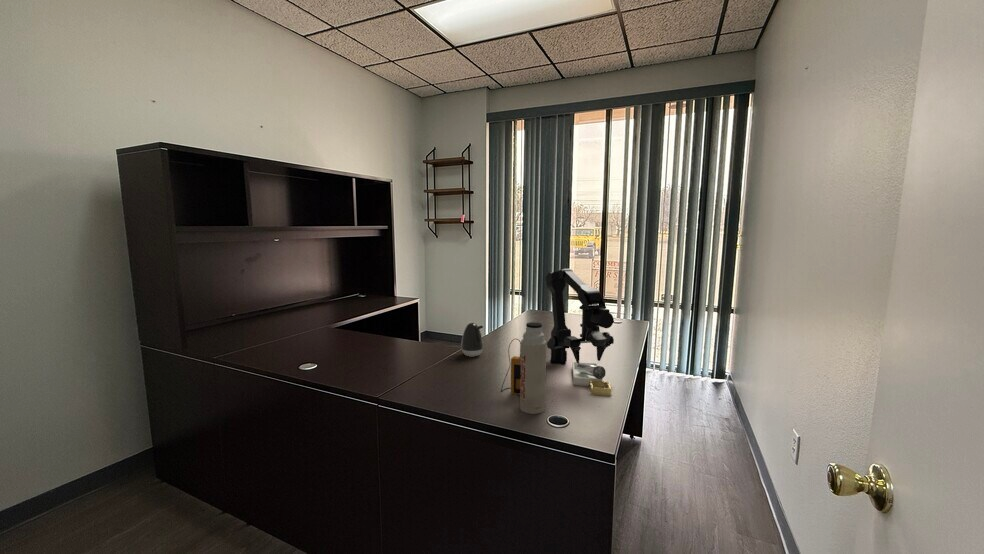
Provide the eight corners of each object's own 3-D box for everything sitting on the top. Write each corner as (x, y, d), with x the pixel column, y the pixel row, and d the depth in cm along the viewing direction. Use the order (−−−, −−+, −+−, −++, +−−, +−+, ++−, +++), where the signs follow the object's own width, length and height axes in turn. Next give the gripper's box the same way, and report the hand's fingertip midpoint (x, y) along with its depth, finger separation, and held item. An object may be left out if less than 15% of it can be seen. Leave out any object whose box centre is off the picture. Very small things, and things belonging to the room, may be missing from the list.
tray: (573, 385, 146) (574, 377, 145) (572, 368, 163) (572, 361, 163) (602, 387, 144) (602, 379, 143) (597, 370, 162) (597, 363, 161)
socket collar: (591, 394, 137) (591, 387, 137) (589, 386, 144) (589, 380, 144) (611, 395, 136) (611, 389, 136) (608, 388, 143) (609, 381, 143)
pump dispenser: (478, 359, 174) (478, 326, 172) (457, 357, 178) (457, 324, 176) (486, 353, 183) (487, 321, 182) (466, 350, 187) (466, 319, 185)
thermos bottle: (522, 414, 122) (523, 326, 119) (518, 403, 130) (519, 320, 127) (547, 413, 123) (549, 326, 120) (541, 402, 131) (543, 320, 127)
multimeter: (546, 388, 143) (547, 334, 141) (541, 398, 134) (542, 341, 131) (508, 382, 148) (508, 331, 146) (500, 392, 138) (500, 337, 136)
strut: (574, 371, 156) (593, 376, 143) (577, 360, 157) (596, 364, 144) (584, 375, 157) (603, 380, 144) (587, 364, 158) (607, 368, 145)
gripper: (578, 329, 140) (577, 371, 141) (623, 325, 145) (621, 366, 147) (563, 322, 150) (562, 361, 152) (606, 319, 156) (604, 357, 157)
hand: (588, 361), depth 152 cm, fingers open, 9 cm apart
